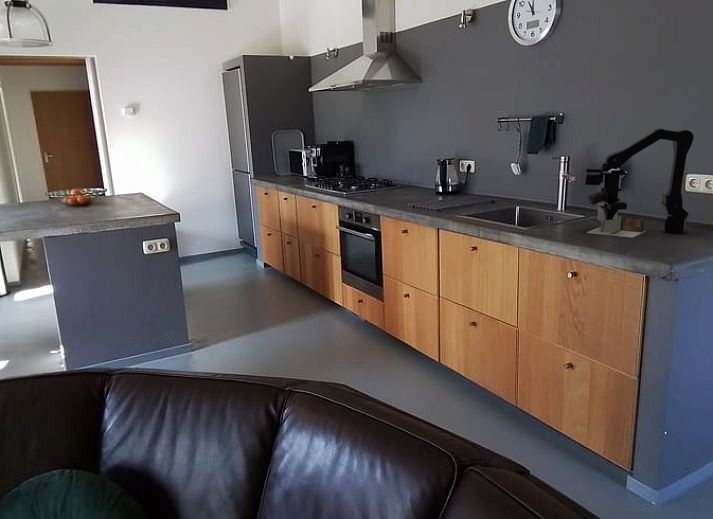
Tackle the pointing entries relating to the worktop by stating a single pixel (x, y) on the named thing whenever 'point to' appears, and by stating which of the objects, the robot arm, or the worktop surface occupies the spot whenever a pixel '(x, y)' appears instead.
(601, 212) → the gray block
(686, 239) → the worktop surface
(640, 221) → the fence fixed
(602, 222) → the fence panel
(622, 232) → the card
